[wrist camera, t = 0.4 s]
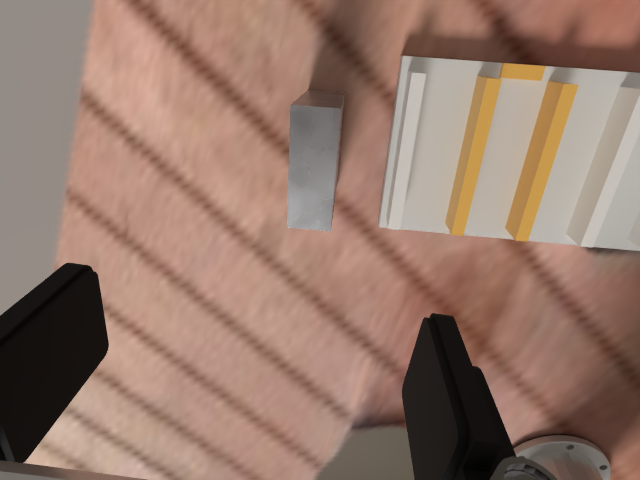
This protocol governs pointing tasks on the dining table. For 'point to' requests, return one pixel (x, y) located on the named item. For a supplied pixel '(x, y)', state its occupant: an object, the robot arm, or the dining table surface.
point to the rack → (514, 153)
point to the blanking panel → (314, 158)
